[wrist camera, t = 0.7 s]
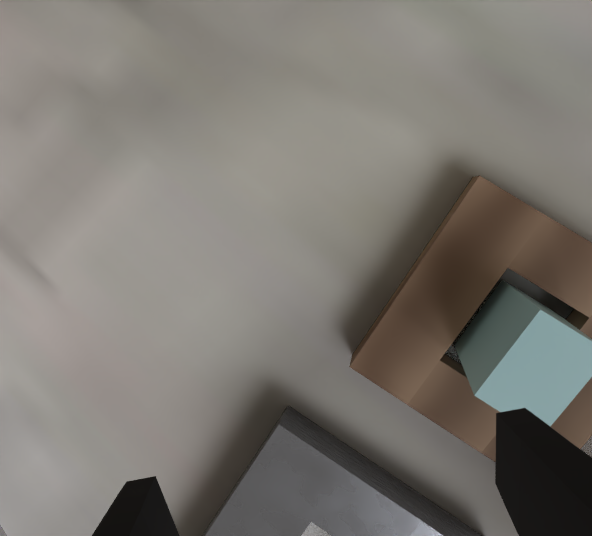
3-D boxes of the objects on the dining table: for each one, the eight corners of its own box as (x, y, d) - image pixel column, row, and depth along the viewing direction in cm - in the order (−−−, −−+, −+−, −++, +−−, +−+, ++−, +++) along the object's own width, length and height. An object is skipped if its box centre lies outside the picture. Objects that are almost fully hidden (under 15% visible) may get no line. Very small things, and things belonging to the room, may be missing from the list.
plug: (554, 311, 26) (611, 353, 19) (503, 377, 27) (540, 438, 20) (502, 279, 26) (540, 309, 20) (454, 345, 27) (474, 395, 21)
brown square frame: (677, 299, 25) (701, 308, 23) (531, 471, 28) (542, 492, 26) (473, 177, 26) (479, 175, 24) (352, 354, 29) (349, 366, 27)
